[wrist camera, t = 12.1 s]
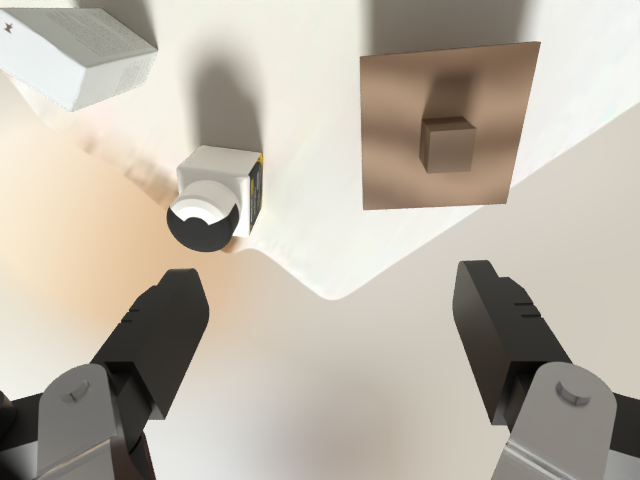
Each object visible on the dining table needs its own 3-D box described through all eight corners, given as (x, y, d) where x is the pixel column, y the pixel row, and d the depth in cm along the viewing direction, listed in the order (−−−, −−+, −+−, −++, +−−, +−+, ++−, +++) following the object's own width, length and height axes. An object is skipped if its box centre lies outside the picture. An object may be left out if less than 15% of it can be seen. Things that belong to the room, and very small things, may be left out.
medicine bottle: (262, 208, 44) (237, 265, 34) (204, 200, 44) (162, 256, 34) (263, 152, 40) (235, 198, 30) (200, 143, 40) (151, 187, 30)
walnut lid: (359, 56, 30) (362, 63, 26) (535, 41, 29) (567, 45, 24) (363, 205, 37) (365, 230, 33) (502, 199, 36) (523, 223, 32)
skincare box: (88, 48, 35) (-15, 61, 25) (101, 7, 34) (-4, 3, 23) (145, 87, 37) (70, 115, 27) (161, 51, 35) (86, 65, 25)
